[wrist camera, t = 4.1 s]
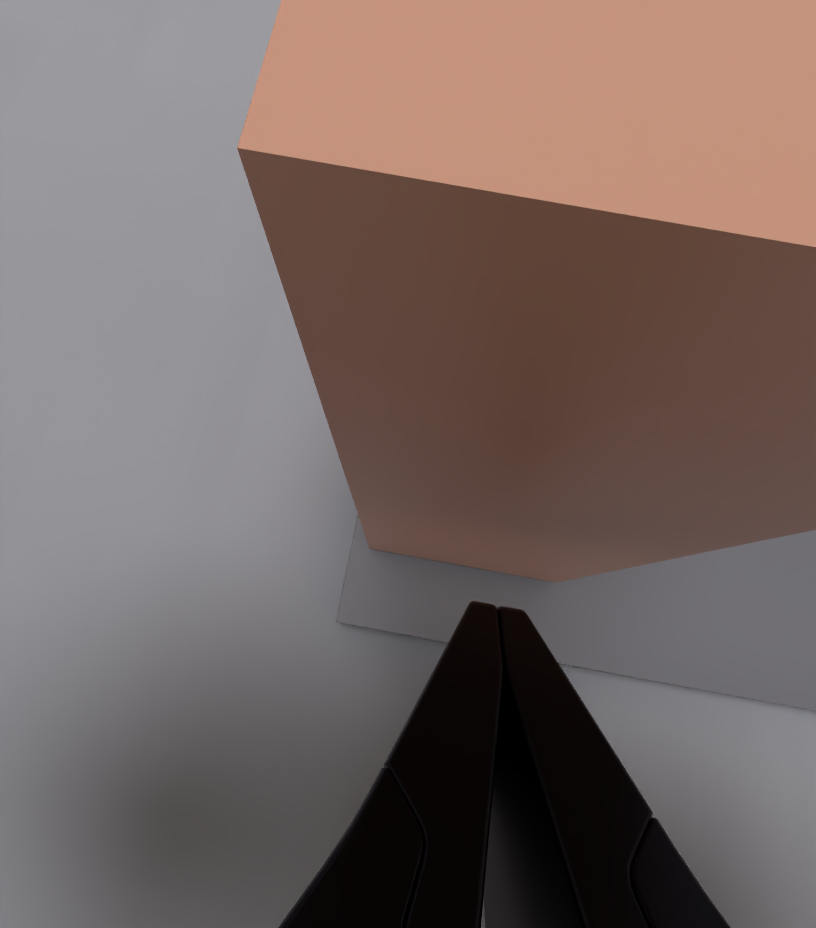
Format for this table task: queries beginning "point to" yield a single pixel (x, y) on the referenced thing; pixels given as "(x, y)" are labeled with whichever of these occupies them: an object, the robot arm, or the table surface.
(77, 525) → the table surface
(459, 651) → the robot arm
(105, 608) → the table surface
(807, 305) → the key
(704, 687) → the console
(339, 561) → the table surface
